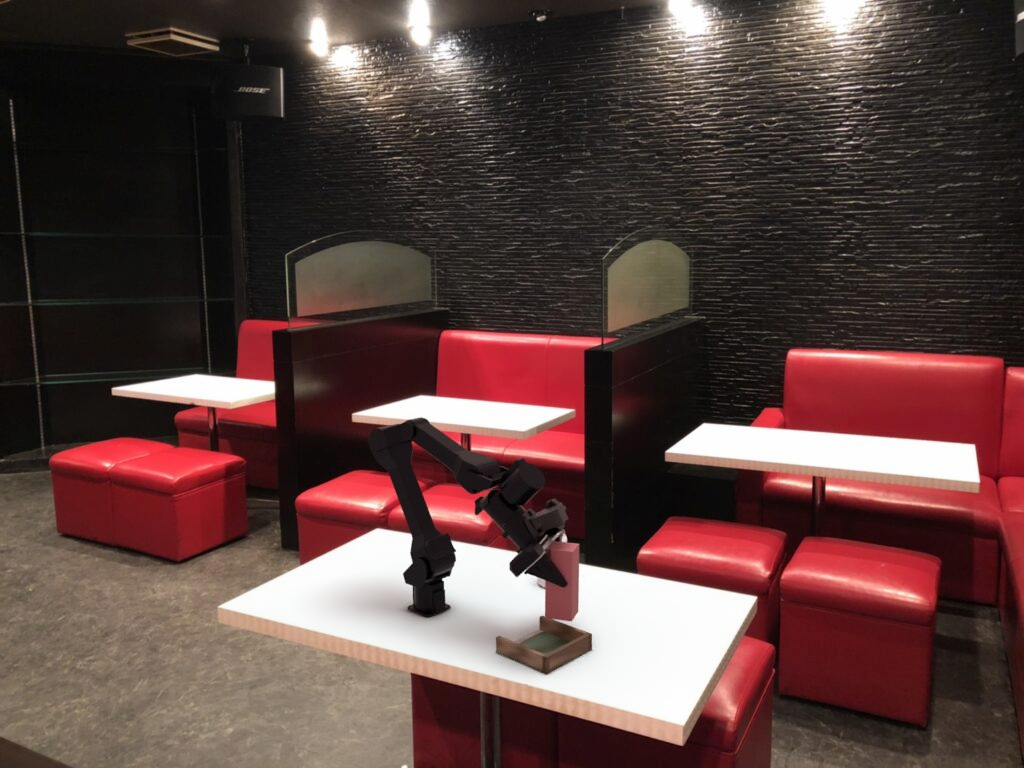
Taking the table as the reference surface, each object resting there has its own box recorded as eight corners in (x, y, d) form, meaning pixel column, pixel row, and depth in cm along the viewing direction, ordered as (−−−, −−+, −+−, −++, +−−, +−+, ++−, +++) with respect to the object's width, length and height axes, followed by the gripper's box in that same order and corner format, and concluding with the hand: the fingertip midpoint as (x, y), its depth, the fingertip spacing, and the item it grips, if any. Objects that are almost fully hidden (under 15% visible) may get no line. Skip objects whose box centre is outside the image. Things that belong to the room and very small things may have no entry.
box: (496, 652, 152) (495, 637, 152) (542, 630, 161) (542, 615, 161) (546, 674, 144) (546, 657, 144) (591, 649, 153) (591, 633, 153)
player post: (545, 617, 154) (545, 548, 152) (552, 608, 159) (553, 541, 157) (571, 621, 152) (572, 551, 151) (578, 611, 157) (579, 543, 156)
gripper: (526, 503, 145) (589, 571, 143) (554, 477, 162) (610, 537, 161) (483, 543, 148) (544, 610, 146) (515, 513, 166) (570, 572, 164)
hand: (569, 580), depth 154 cm, fingers closed on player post, 5 cm apart
